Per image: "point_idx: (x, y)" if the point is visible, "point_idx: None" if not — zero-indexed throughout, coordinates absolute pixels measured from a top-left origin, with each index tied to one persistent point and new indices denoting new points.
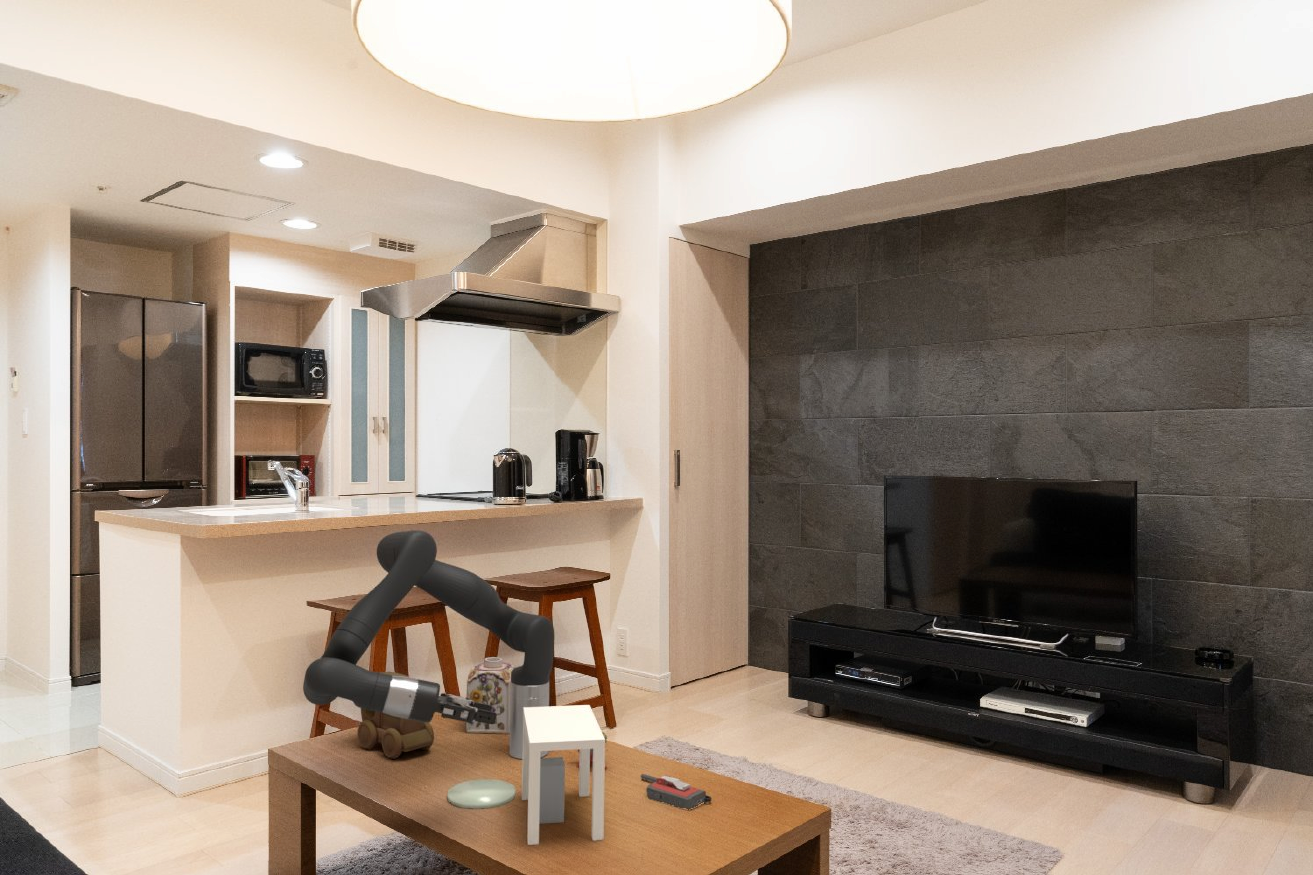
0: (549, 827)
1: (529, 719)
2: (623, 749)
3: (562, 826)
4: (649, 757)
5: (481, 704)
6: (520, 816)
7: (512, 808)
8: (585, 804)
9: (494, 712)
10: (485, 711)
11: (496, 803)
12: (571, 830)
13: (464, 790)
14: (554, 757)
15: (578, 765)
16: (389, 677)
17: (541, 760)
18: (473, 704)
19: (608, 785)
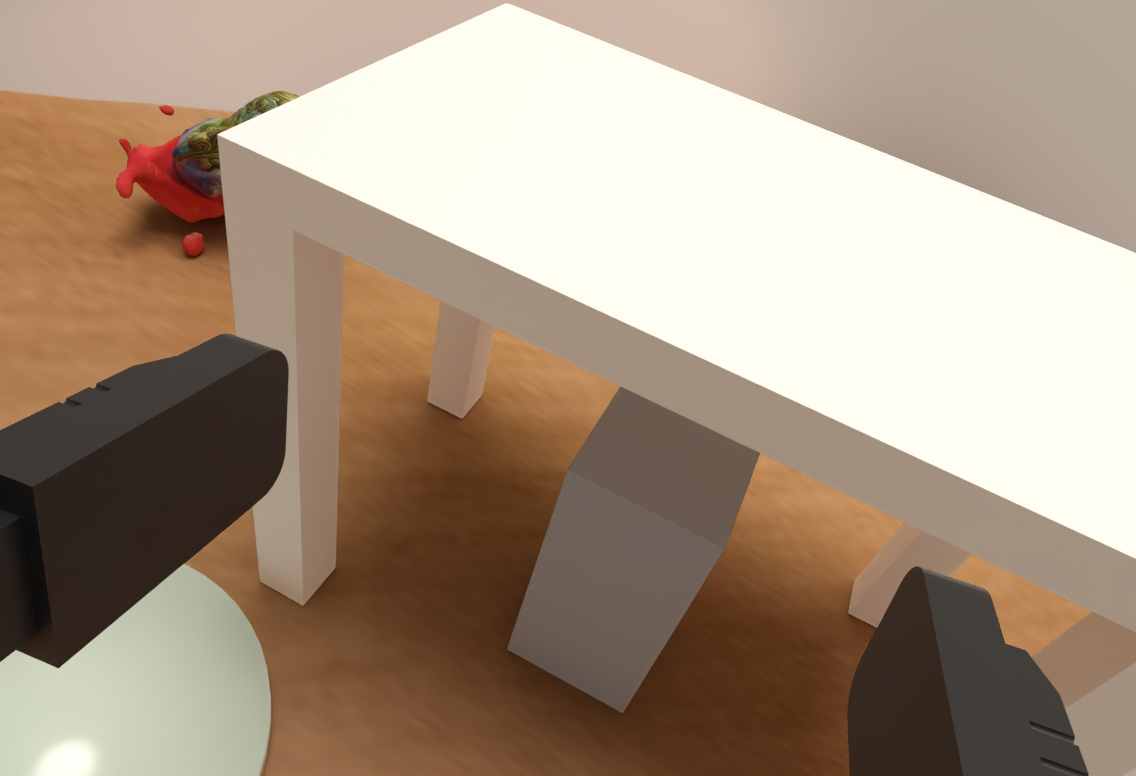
0: (691, 697)
1: (586, 281)
2: (194, 111)
3: (707, 645)
4: None
5: (160, 426)
6: (487, 735)
7: (360, 708)
8: (545, 449)
9: (963, 592)
10: (1024, 746)
11: (263, 762)
12: (763, 640)
13: None
14: (610, 403)
15: (193, 250)
16: None
17: (619, 477)
18: (9, 526)
19: (437, 304)
